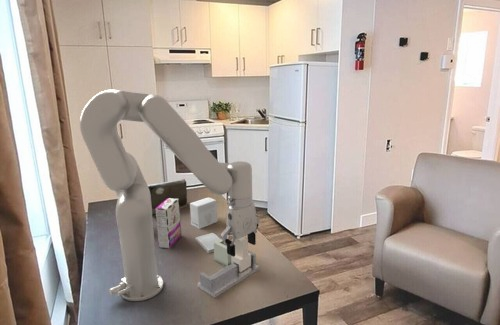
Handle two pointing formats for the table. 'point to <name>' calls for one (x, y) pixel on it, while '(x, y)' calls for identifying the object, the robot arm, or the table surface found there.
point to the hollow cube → (221, 253)
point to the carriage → (241, 254)
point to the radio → (168, 193)
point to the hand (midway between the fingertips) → (241, 249)
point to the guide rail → (226, 277)
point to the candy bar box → (168, 222)
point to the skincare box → (203, 212)
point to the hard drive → (208, 241)
